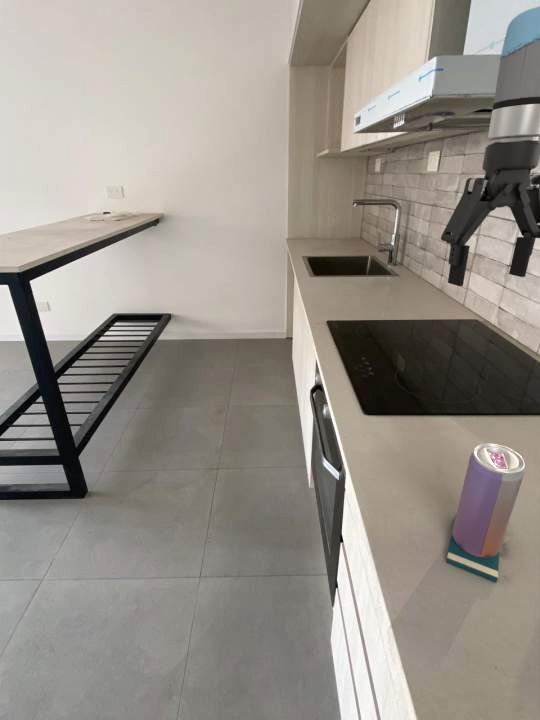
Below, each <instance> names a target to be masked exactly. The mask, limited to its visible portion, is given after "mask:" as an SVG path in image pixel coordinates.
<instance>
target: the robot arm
mask: <svg viewBox="0 0 540 720" xmlns="http://www.w3.org/2000/svg"><path fill="white" fill-rule="evenodd" d="M487 140H488V141H490V144H487V146H486V147H485V150H484V156H483V159H482V160H483V162H482V170H483V171H485V174H484V176H483V177H468V178H467V179H466V181H465V185H464V188H463V193H462V194H461V197H460V199H459V201H458V203H457V205H456V206H455V208H454V210H453V212H452V215H451V216H450V218H449V220H448V222H447V224H446V226H445V228H444V230H443V231H442V234H441V236H440V240H441V241H442V242H446V243H447V244H449V245H450V249H449V256H448V265H449V272H448V277H447V283H448V284H450V285H454V286H458V287H463V286H464V282H465V278H466V277H465V276H466V270H467V264H468V258H469V253H470V248H471V246H470V245H468V244H467V243H468V242H469V240H470V239H471V238H472V236H473V235H474V234H475V232H476V231H477V230H478V229H479V227H480V226H481V225H482V223H483V222H484V221H485V219H487V217H488V216H489V215H490V213H491V212H493V211H495V210H496V209H497V208H499V209H501V208H504V207H507V208H508V209H510V211H511V213H512V216H513V218H514V220H515V222H516V225H517V228H518V229H519V232H520V234H521V236H517V237H516V240H515V244H514V249H513V254H512V258H511V262H510V268H509V271H508V275H511V276H515V277H520V278H525V277H526V275H527V271H528V268H529V267H528V266H529V262H530V258H531V256H532V254H533V250H534V246H535V243H536V239H540V174H531V171H532V170H534V169H536V168H537V167H538V165H539V160H540V6H536V7H533V8H530V9H527V10H524V11H522V12H520V13H518V14H517V15H516V16H514V17H513V18H512V19H511V21H510V22H509V24H508V26H507V29H506V33H505V36H504V40H503V45H502V49H501V54H500V56H499V67H498V73H497V80H496V87H495V93H494V99H493V105H492V110H491V116H490V121H489V127H488V133H487Z"/></svg>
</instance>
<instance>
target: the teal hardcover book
mask: <svg viewBox="0 0 540 720" xmlns="http://www.w3.org/2000/svg"><path fill="white" fill-rule="evenodd" d="M456 514H457V512H455V517H454V519H455V518H456ZM454 522H455V520H454V521H453V523H454ZM500 550H501V549H500ZM500 550H499V552H498V554H497V555H495V556H493V557H491V558H487V559H480V558H476V557H473V556H470V555H468V554H467V553H465V552H464V551H463V550H461V549H460V548H459V546H458V545H457V544H456V542H455V540H454V538H453V534H452V533H451V537H450V542H449V546H448V551H447V556H446V561H445V562H446V564H448V565H451V566H453V567H456V568H459V569H460V570H463V571H465V572H466V571H467V572H469V573H471V574H473V575H476V576H478V577H481V578H483V579H485V580H488V581H489V582H492V583H496V584H497V582H498V579H499V565H500V564H499V563H500Z"/></svg>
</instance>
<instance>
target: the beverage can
mask: <svg viewBox="0 0 540 720" xmlns="http://www.w3.org/2000/svg"><path fill="white" fill-rule="evenodd" d="M525 466H526V464H525V461H524V458H523V456H521V455H520V454H519V453H518V452H517V451H515V450H514V449H512V448H509V447H508V446H505V445H503V444H502V445H501V444H499V443H492V442H485V443H479V444H477V445H476V446H475V447H474V448H473V451H472V452H471V454H470V456H469V460H468V464H467V469H466V471H465V472H466V473H465V477H464V480H463V485H462V489H461V494H460V497H459V502H458V506H457V509H456V513H457V514H456V513H455V516H456V518H455V517H454V521H455V522H454V521H453V525H452V531H451V535H452V534H453V538H454V540H455V542H456V544H457V545H458V546H459V548H460V549H461V550H463V551H464V552H465V553H467V554H468V555H470V556H473V557H476V558H480V559H487V558H491V557H493V556H495V555H497V554H498V552H499V553H500V551H499V550H501V548H502V544H503V541H504V539H505V535H506V533H507V532H506V531H507V529H508V526H509V522H510V519H511V517H512V514H513V510H514V507H515V504H516V501H517V497H518V494H519V491H520V489H521V488H520V487H521V485H522V483H523V480H524V476H525Z"/></svg>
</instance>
